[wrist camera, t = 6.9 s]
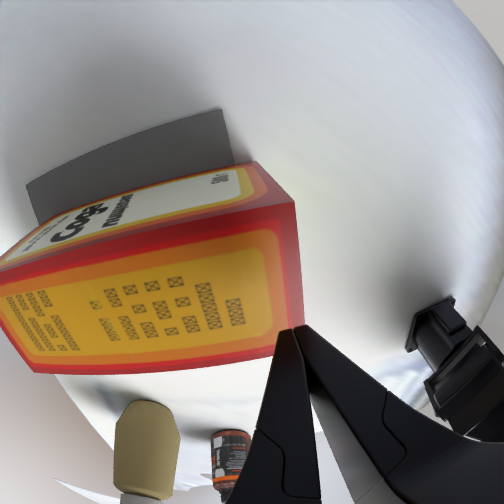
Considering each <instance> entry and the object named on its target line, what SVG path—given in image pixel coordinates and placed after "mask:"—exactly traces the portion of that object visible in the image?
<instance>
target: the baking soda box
mask: <svg viewBox="0 0 504 504" xmlns="http://www.w3.org/2000/svg"><path fill="white" fill-rule="evenodd" d="M301 325H305V320H304V304H303V289H302V276H301V264H300V252H299V241H298V231H297V221H296V212H295V203H294V200H293V199H292V198H291V197H290V196H289V195H288V194H287V193H286V192H285V191H284V190H283V188H282V187H281V186H280V185H279V184H278V183H277V182H276V181H275V180H274V179H273V178H272V177H271V176H270V175H269V174H268V173H267V172H266V171H265V170H264V169H263V168H262V167H261V165H260V164H259V163H258V162H257V161H253V162H247V163H242V164H236V165H231V166H226V167H221V168H216V169H211V170H207V171H202V172H198V173H193V174H189V175H184V176H180V177H176V178H172V179H168V180H164V181H160V182H156V183H153V184H149V185H145V186H142V187H138V188H135V189H131V190H128V191H124V192H121V193H118V194H114V195H111V196H108V197H105V198H102V199H99V200H96V201H93V202H90V203H87V204H84V205H81V206H78V207H75V208H72V209H70V210H67V211H64V212H62V213H59V214H56V215H54V216H52V217H50V218H49V219H48V220H46V221H45V222H43V223H42V224H41V225H39V226H38V227H37V228H35V229H34V230H33V231H31V232H30V233H29V234H27V235H26V236H25V237H24V238H22V239H21V240H20V241H19V242H17V243H16V244H15V245H14V246H13V247H11V248H10V249H9V250H8V251H7V252H5V253H4V254H3V255H2V256H1V257H0V326H1V328H2V330H3V331H4V333H5V334H6V336H7V337H8V339H9V340H10V342H11V343H12V345H13V346H14V347H15V349H16V350H17V351H18V353H19V354H20V355H21V357H22V358H23V359H24V361H25V362H26V363H27V364H28V366H29V367H30V368H31V369H32V370H33V372H36V373H49V374H71V375H116V374H140V373H155V372H167V371H177V370H187V369H196V368H203V367H211V366H218V365H225V364H231V363H237V362H243V361H249V360H254V359H260V358H265V357H270V356H273V355H274V350H275V346H276V341H277V337H278V333H279V331H281V330H285V329H289V328H292V329H294V327H297V326H301Z"/></svg>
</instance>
